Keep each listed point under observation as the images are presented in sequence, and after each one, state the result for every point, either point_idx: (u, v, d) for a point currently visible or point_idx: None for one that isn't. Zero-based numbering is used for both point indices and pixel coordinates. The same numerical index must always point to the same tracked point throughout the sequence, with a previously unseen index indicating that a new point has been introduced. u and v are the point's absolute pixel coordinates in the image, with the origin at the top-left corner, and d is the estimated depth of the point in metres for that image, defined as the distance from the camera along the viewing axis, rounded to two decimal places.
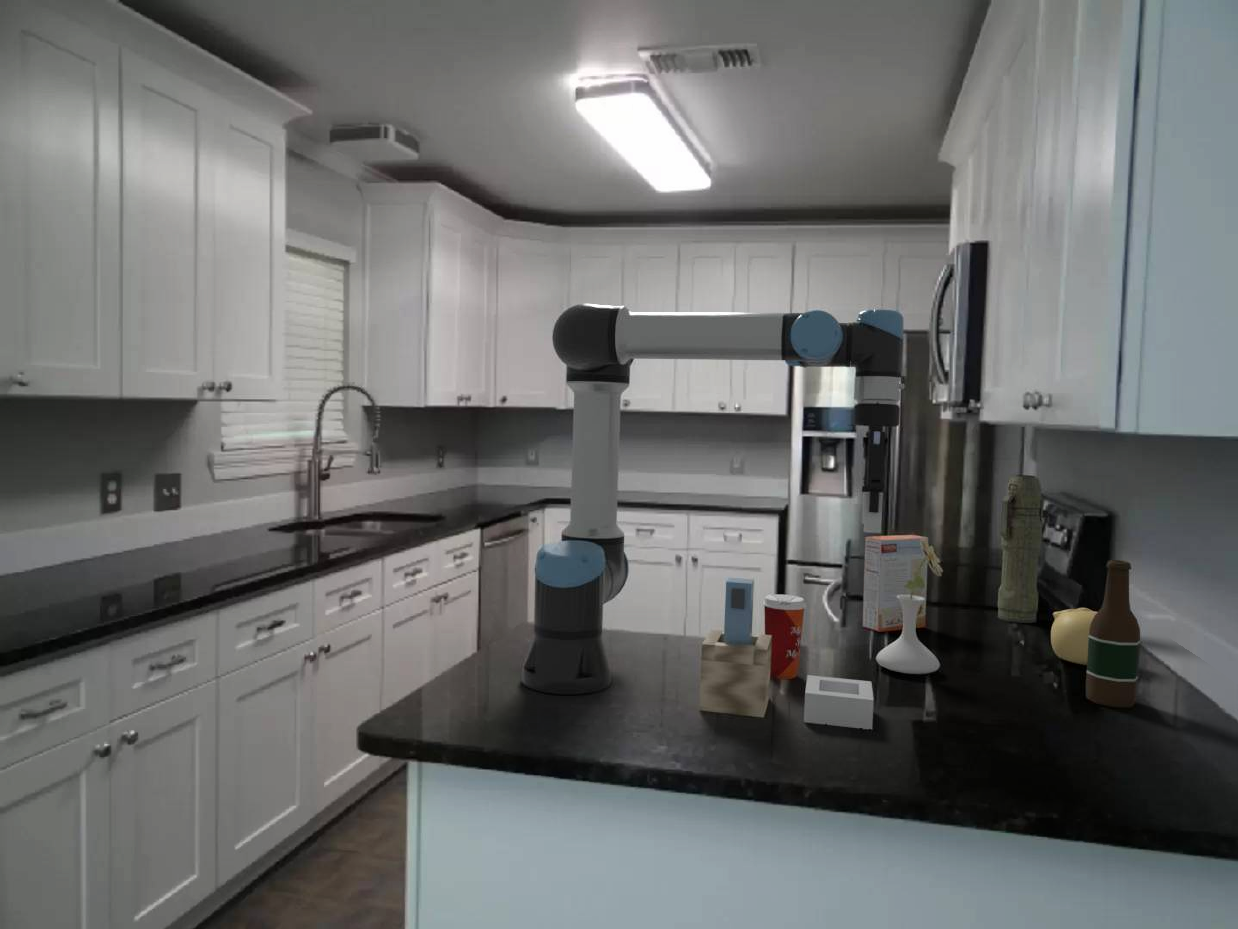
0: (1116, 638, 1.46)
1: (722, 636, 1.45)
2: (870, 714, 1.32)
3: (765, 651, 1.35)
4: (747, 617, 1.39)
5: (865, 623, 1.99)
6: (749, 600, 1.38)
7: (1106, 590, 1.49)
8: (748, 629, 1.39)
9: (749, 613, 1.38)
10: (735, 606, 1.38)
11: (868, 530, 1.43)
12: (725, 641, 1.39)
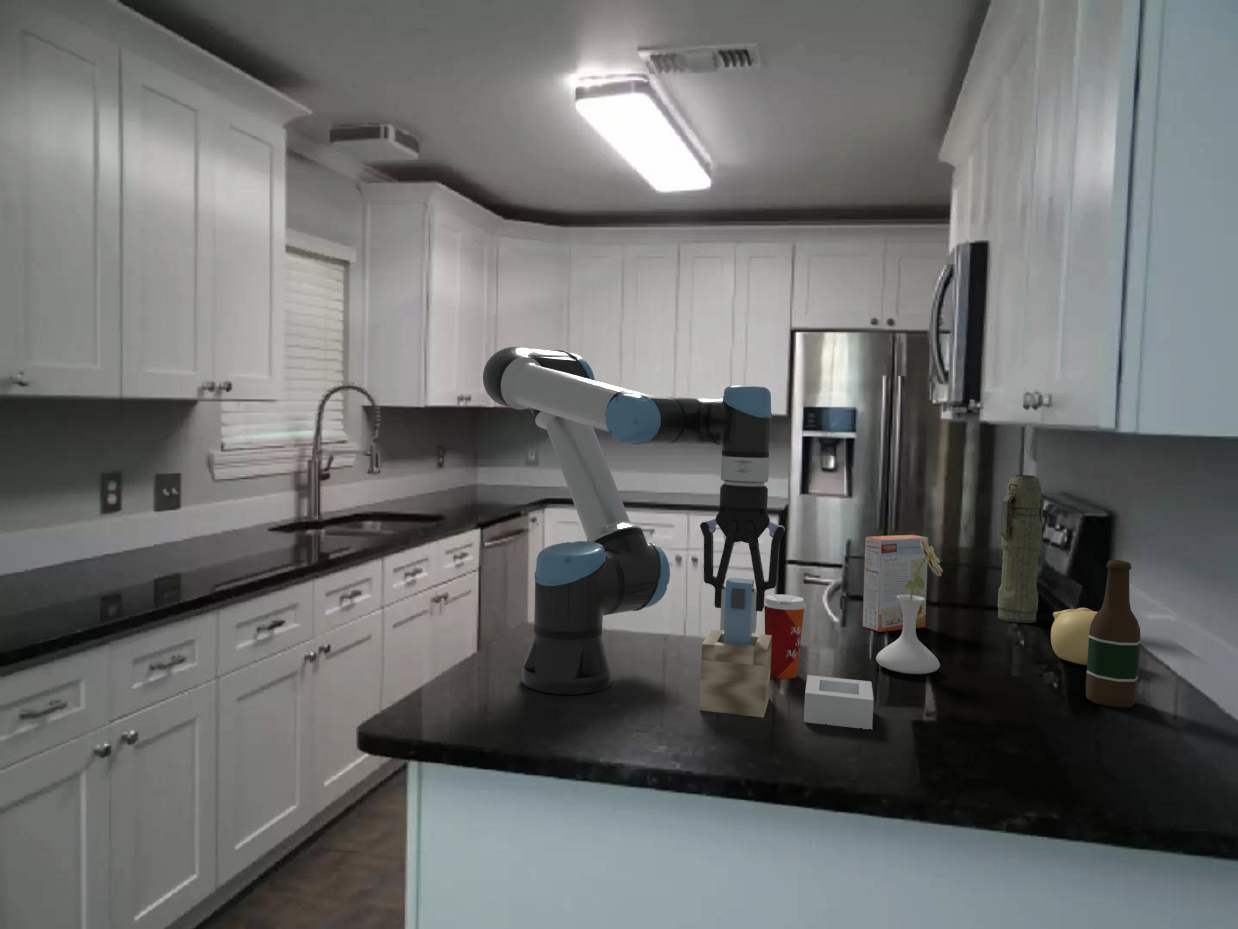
0: (1116, 638, 1.46)
1: (722, 636, 1.45)
2: (870, 714, 1.32)
3: (765, 651, 1.35)
4: (747, 617, 1.39)
5: (865, 623, 1.99)
6: (749, 600, 1.38)
7: (1106, 590, 1.49)
8: (748, 629, 1.39)
9: (749, 613, 1.38)
10: (735, 606, 1.38)
11: None
12: (725, 641, 1.39)
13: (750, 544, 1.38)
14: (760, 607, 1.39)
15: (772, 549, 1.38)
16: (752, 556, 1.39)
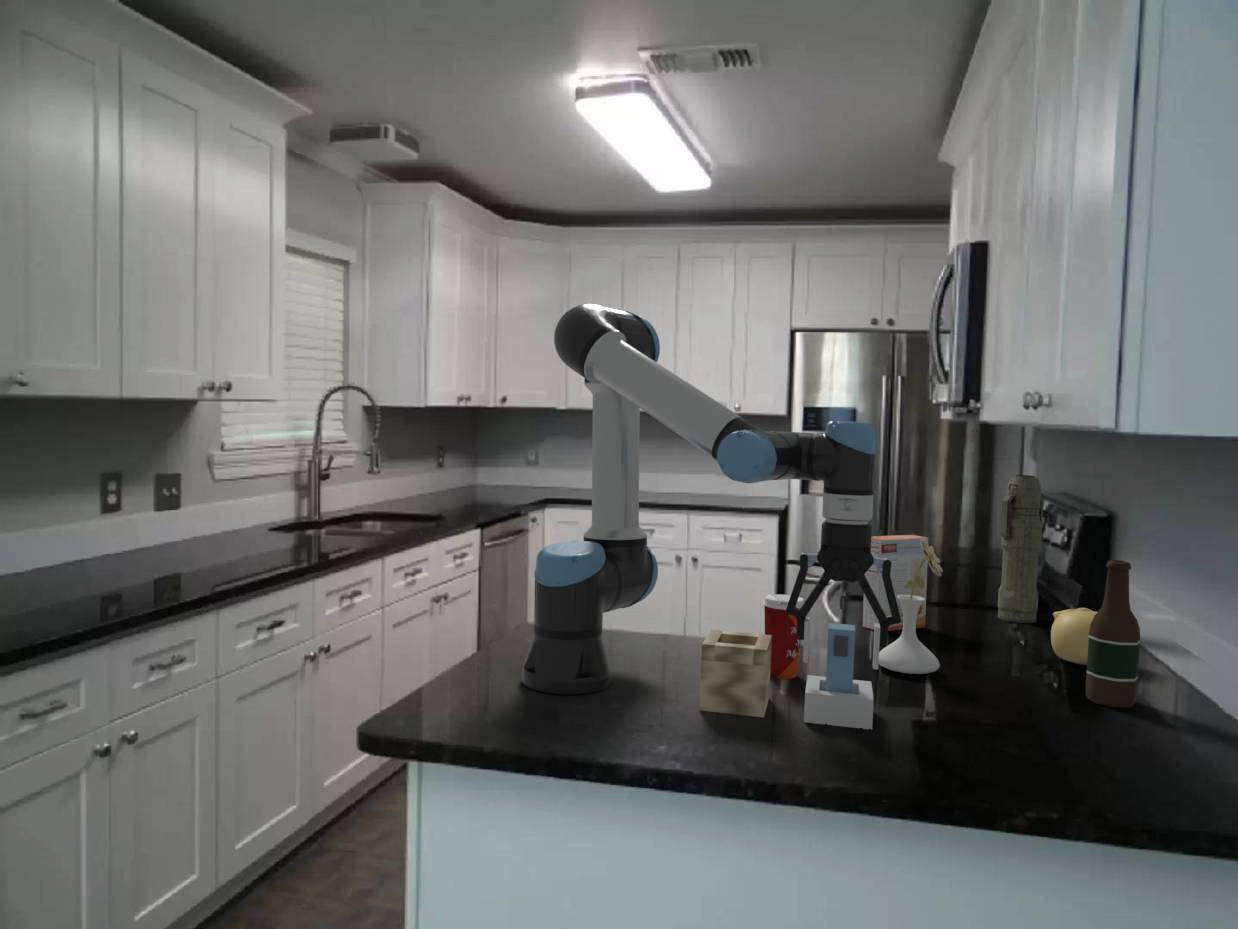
0: (1116, 638, 1.46)
1: (722, 636, 1.45)
2: (870, 714, 1.32)
3: (765, 651, 1.35)
4: (850, 665, 1.35)
5: (865, 623, 1.99)
6: (852, 648, 1.35)
7: (1106, 590, 1.49)
8: (851, 677, 1.35)
9: (852, 661, 1.35)
10: (838, 654, 1.35)
11: None
12: (827, 689, 1.36)
13: (860, 583, 1.34)
14: (884, 642, 1.35)
15: (885, 584, 1.34)
16: (866, 594, 1.35)
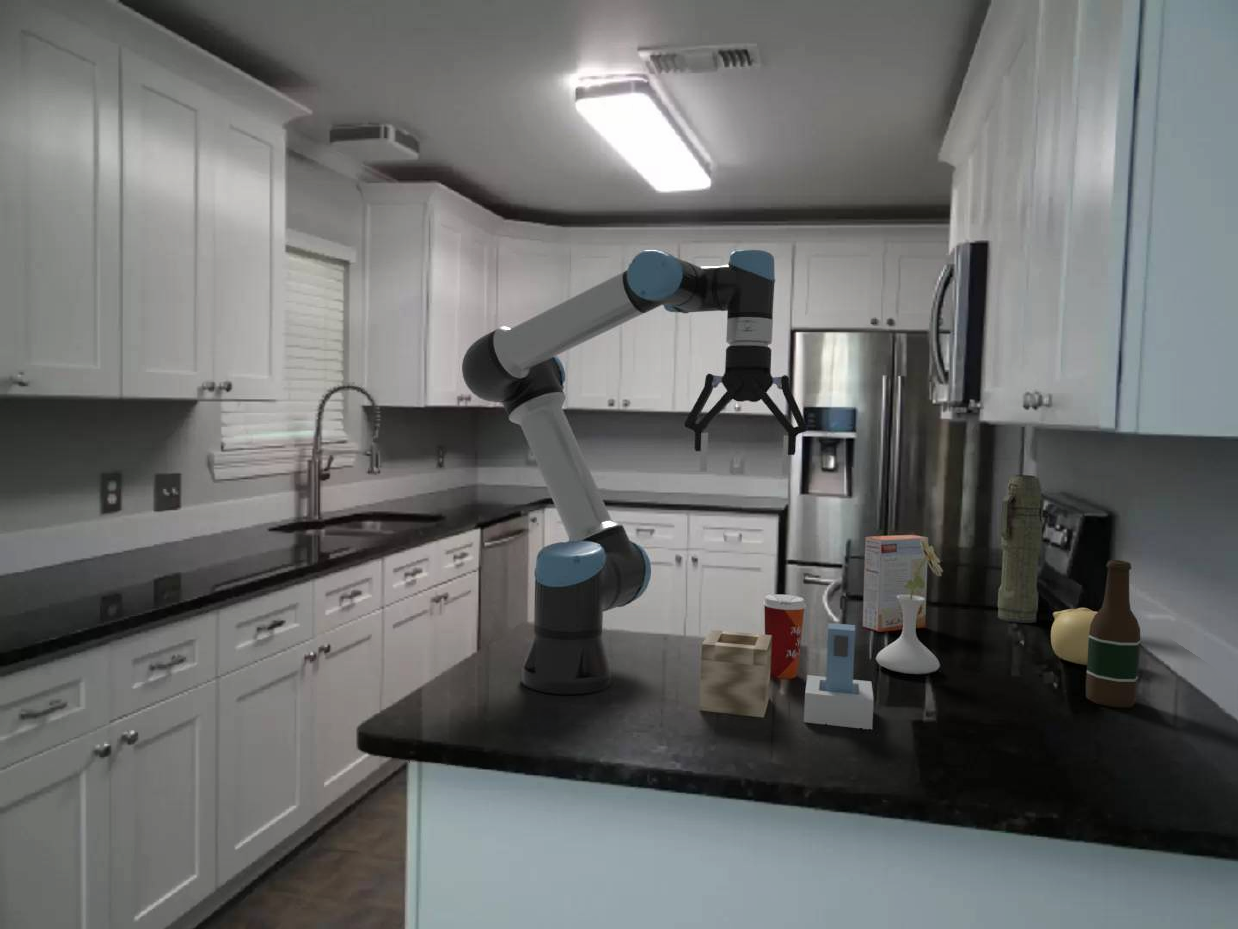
0: (1116, 638, 1.46)
1: (722, 636, 1.45)
2: (870, 714, 1.32)
3: (765, 651, 1.35)
4: (850, 665, 1.35)
5: (865, 623, 1.99)
6: (852, 648, 1.35)
7: (1106, 590, 1.49)
8: (851, 677, 1.35)
9: (852, 661, 1.35)
10: (838, 654, 1.35)
11: None
12: (827, 689, 1.36)
13: (763, 399, 1.45)
14: (792, 450, 1.45)
15: (787, 398, 1.44)
16: (770, 408, 1.45)
